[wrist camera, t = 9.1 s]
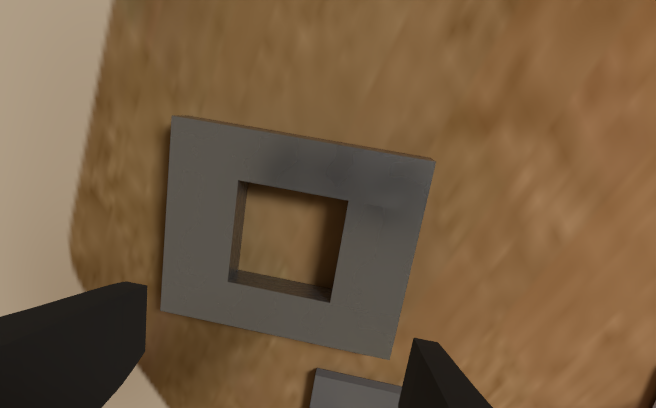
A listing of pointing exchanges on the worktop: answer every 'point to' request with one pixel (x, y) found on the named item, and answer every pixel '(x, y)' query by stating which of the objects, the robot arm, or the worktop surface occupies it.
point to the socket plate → (304, 176)
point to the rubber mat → (352, 392)
